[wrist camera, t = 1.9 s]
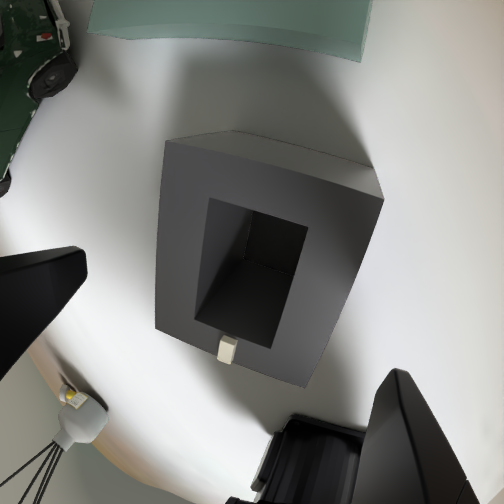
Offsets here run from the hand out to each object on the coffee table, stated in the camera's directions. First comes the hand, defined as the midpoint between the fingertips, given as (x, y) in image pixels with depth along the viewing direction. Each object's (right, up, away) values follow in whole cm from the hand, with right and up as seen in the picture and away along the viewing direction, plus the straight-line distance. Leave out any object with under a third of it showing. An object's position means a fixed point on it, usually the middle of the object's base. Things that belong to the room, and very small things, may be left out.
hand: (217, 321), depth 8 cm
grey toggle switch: (+2, +3, +6) cm, 7 cm away
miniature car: (-17, +13, +9) cm, 23 cm away
